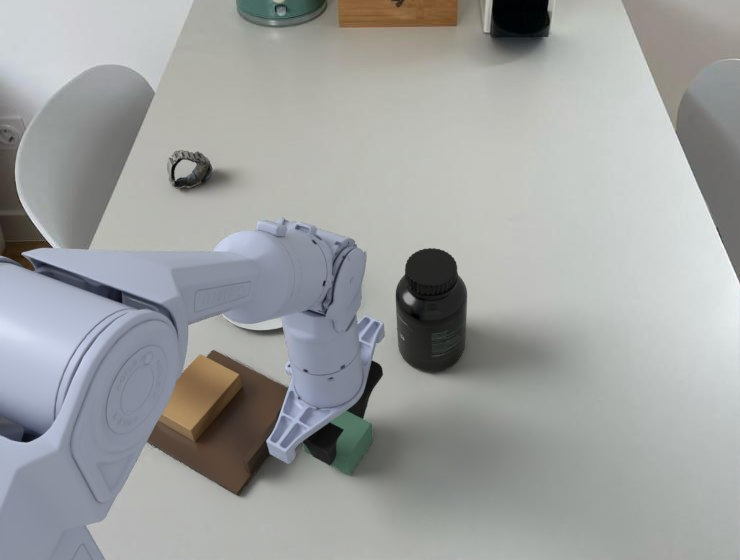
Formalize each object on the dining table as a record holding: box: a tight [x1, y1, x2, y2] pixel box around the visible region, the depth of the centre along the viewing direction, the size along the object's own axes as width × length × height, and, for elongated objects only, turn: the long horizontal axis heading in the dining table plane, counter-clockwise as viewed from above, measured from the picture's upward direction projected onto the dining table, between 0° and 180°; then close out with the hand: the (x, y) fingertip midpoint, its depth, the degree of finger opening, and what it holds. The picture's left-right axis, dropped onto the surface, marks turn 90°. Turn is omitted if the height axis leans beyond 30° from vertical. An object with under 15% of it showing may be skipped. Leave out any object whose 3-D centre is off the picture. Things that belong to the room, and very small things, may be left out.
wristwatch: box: [166, 149, 214, 190], centre depth 101 cm, size 3×5×5 cm
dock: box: [146, 349, 289, 497], centre depth 76 cm, size 11×12×3 cm
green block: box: [302, 411, 374, 476], centre depth 73 cm, size 4×5×3 cm
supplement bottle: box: [395, 247, 468, 373], centre depth 78 cm, size 7×7×12 cm
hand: (337, 437), depth 74 cm, fingers closed on green block, 4 cm apart
